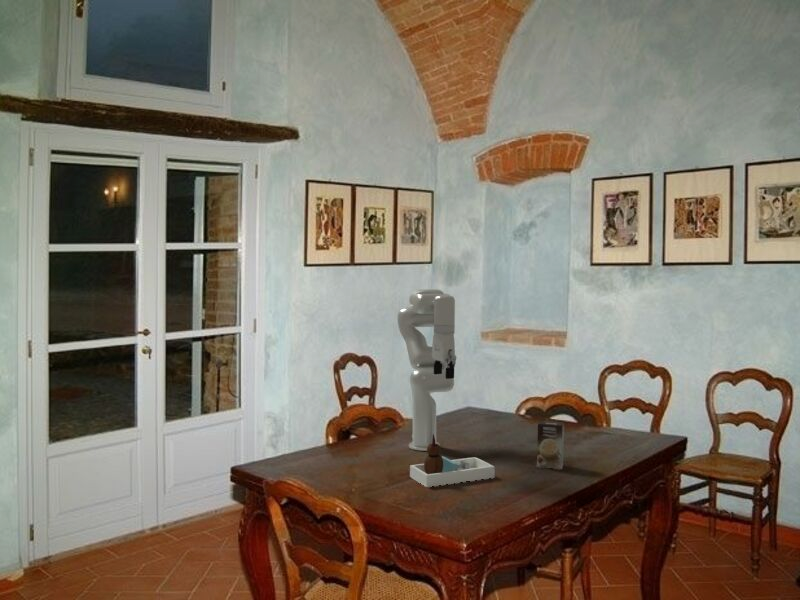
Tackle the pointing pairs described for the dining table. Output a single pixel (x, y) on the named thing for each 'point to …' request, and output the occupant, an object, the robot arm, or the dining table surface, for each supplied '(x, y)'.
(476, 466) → the lane
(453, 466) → the pusher paddle
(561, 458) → the coffee box
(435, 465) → the wooden figurine
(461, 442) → the dining table surface
